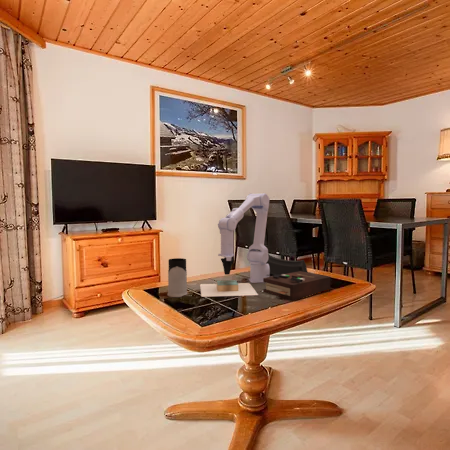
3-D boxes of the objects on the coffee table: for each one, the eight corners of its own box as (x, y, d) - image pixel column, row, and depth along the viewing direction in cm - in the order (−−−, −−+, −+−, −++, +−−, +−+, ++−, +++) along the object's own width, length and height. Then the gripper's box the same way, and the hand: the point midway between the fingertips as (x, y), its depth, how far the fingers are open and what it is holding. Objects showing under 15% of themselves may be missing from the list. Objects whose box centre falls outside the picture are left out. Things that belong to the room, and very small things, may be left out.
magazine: (313, 263, 167) (269, 241, 187) (309, 264, 164) (265, 242, 185) (304, 293, 171) (262, 269, 192) (300, 295, 169) (258, 270, 189)
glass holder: (166, 297, 137) (166, 261, 137) (169, 288, 152) (168, 256, 151) (187, 296, 138) (187, 261, 137) (188, 288, 152) (188, 256, 152)
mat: (249, 283, 161) (249, 283, 161) (258, 295, 139) (258, 295, 139) (200, 285, 159) (200, 284, 159) (201, 297, 137) (201, 296, 137)
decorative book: (335, 274, 148) (291, 284, 129) (335, 291, 148) (291, 303, 130) (301, 268, 163) (257, 276, 145) (301, 283, 164) (257, 293, 145)
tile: (235, 280, 154) (238, 284, 146) (235, 286, 154) (238, 290, 146) (216, 280, 153) (218, 284, 145) (216, 287, 153) (218, 291, 145)
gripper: (217, 242, 156) (217, 271, 156) (219, 246, 141) (219, 277, 142) (231, 242, 156) (231, 271, 157) (235, 246, 142) (235, 277, 143)
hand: (227, 274), depth 150 cm, fingers closed
